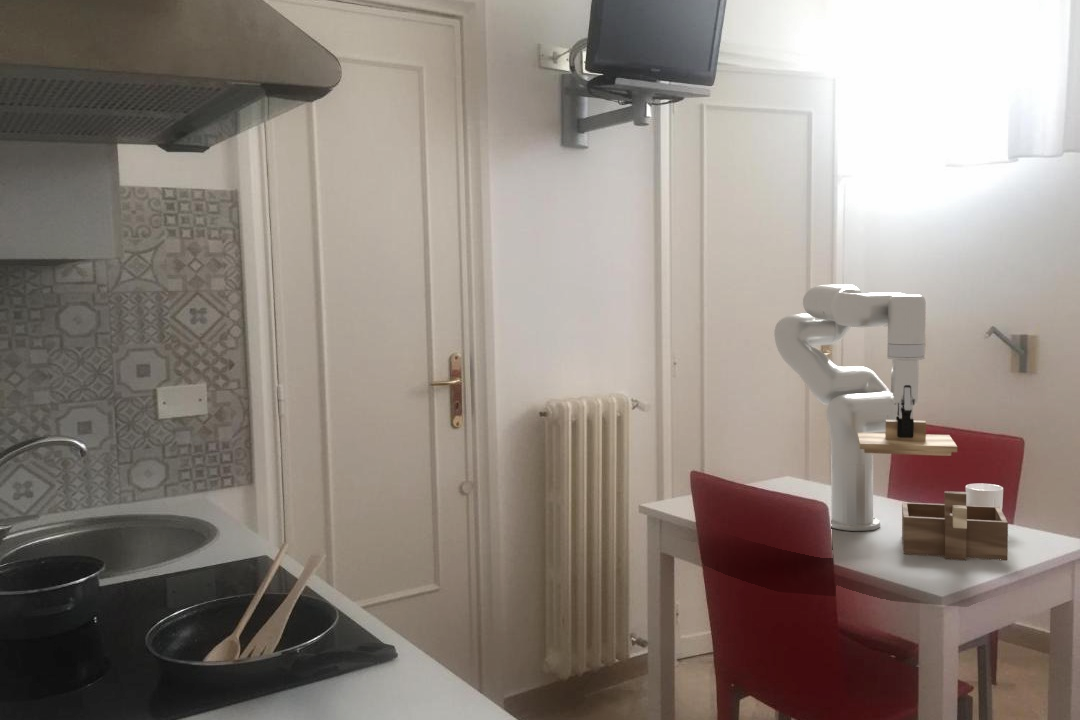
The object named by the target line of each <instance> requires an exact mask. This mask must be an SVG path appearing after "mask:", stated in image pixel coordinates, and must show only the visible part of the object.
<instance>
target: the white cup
mask: <svg viewBox="0 0 1080 720" xmlns="http://www.w3.org/2000/svg"><path fill="white" fill-rule="evenodd" d="M965 492H966V505H973V506H995V507H1000V508H1001V510H1002V511H1003V503H1004V502H1003V500H1004V499H1003V498H1004V487H1003V486H1001V485H998V484H992V483H983V482H982V483H969V484H966V485H965Z"/></svg>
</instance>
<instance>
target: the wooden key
mask: <svg viewBox="0 0 1080 720" xmlns="http://www.w3.org/2000/svg"><path fill="white" fill-rule="evenodd" d="M952 518H953V528H964V529H967V507H966V506H961V505H953V511H952Z"/></svg>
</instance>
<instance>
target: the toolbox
mask: <svg viewBox="0 0 1080 720" xmlns="http://www.w3.org/2000/svg"><path fill="white" fill-rule="evenodd" d="M953 505H961V506H966V507H967V529H964V528H953V518H952V511H953ZM901 513H902V514H901V517H902V518H901V529H902V530H901V534H902V535H901V536H902V537H901V539H902V549H903V554H904V555H916V556H933V557H944V559H945V560H955V561H965V562H966V561H967V559H976V558H979V559H978V560H980V559H981V560H991V559H999V560H998V561H1007V560H1008V557H1009V556H1008V555H1009V554H1008V553H1009V552H1008V549H1009V547H1008V546H1009V545H1008V544H1009V540H1008V539H1009V538H1008V537H1009V523H1008V522H1009V521H1008V520H1007V518H1006V516H1005V514H1004V512H1003V509H1002V510H1001V508H1000V507H995V506H973V505H966V491H953V490H952V491H949V490H945V491H944V503H925V502H924V503H923V502H906V501H905V502H903V501H901ZM1000 559H1001V560H1000Z"/></svg>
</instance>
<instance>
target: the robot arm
mask: <svg viewBox="0 0 1080 720" xmlns="http://www.w3.org/2000/svg"><path fill="white" fill-rule="evenodd" d="M802 307H803V309H804V310H805V312H806V313H794V314H790V315H789V314H788V315H786V316H784V317H782V318H781V319H779V320H778V322H776V324H775V326H774V331H773V332H774V335H773V336H774V343H775V345H776V346H775V347H776V348H777V351H778V353H779V355H780V356H781V359H782V360H784V362H785V363H786V364H787V365H788V366H789V367H790V368H791V370H793V371H794V372H795V373H796V374H797V375H798V377H800V378H801V381H803V383H804V384H805V385H806V387H807V388H808V389H809V390H810V392H811V393H812V394H813V396H814V397H815V398H816V399H817V401H819V403H821V404H823V405H825V406H826V410H825V411H826V415H825V416H826V421H827V427H828V431H829V439H830V461H831V462H830V469H831V470H830V477H831V478H830V480H831V481H830V482H831V483H830V484H831V485H830V487H831V491H830V492H831V494H830V495H831V496H830V497H831V499H830V501H831V507H830V509H831V514H830V515H831V524H832V527H831V528H832V529H837V530H840V531H841V530H842V531H848V532H849V531H850V532H867V531H872V530H876V529H879V528H880V526H881V520H879V519H878V518H876V517H874V453H864V449H860V448H859V442H858V432H859V433H883V432H885V430H886V420H898V423H897V436H898V437H900V438H913V429H914V420H915V419H914V406H917V404H918V397H919V396H918V395H919V378H920V376H919V374H920V373H919V372H920V371H919V369H920V368H919V367H920V360H925V359H926V358H925V357H926V313H927V312H926V310H927V309H926V308H927V306H926V299H925V297H924V296H923V295H921V294H917V293H916V294H909V293H908V294H907V293H902V292H868V293H865V292H863V293H862V291H861V289H859V287H857V286H855V285H854V284H850V283H849V284H847V283H845V284H844V283H842V284H840V283H839V284H821V285H816V286H813V287H811V288H810V289H808V290H807V291H806V292H805V294H804V295H803V298H802ZM877 327H887V350H886V351H887V355H886V356H887V357H886V358H887V359H889V360H891V370H890V371H891V373H890V374H891V375H890V388H889V387H888V386H887V385H886V384H885V382H884V381H883V380H882V379H881V378H880V377H879V376H878V374H876V373H875V371H873V370H872V369H871V368H868V367H865V366H859V365H855V366H854V365H852V366H839V365H836V364H835V363H833V361H832V359H830V357H829V356H827V354H826V353H824V352H823V351H821V350H820V349H818V348H815V347H817V346H831V345H835V344H837V343H839V342H840V341H841V340H843V338H844V337H845V335H846V334H847V333H848V331H849V330H850V329H851V328H860V329H861V328H877ZM814 346H815V347H814Z"/></svg>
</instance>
